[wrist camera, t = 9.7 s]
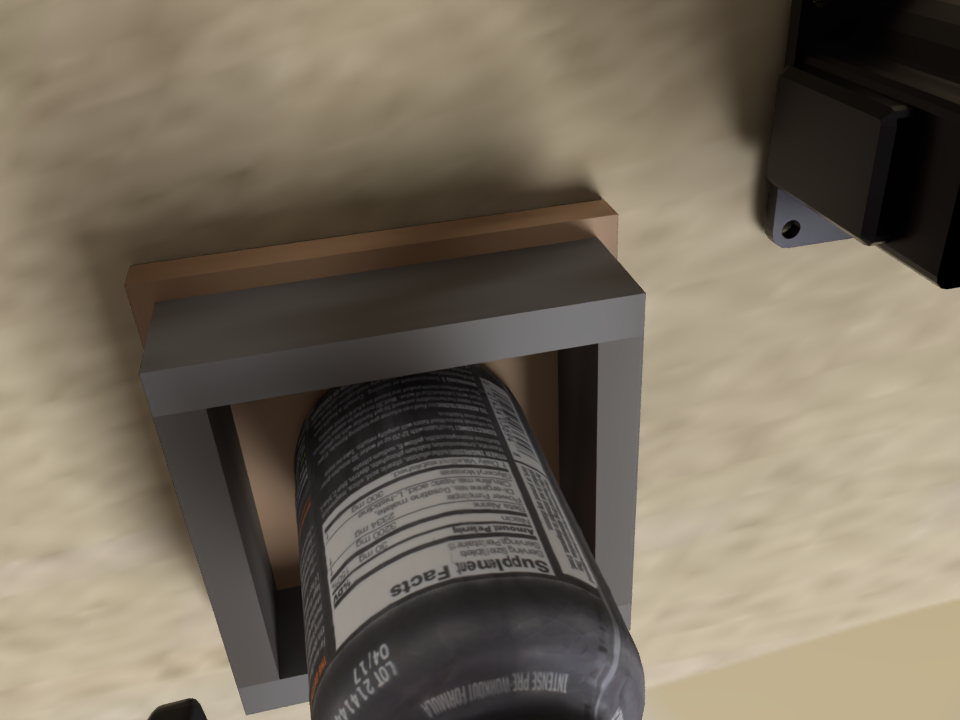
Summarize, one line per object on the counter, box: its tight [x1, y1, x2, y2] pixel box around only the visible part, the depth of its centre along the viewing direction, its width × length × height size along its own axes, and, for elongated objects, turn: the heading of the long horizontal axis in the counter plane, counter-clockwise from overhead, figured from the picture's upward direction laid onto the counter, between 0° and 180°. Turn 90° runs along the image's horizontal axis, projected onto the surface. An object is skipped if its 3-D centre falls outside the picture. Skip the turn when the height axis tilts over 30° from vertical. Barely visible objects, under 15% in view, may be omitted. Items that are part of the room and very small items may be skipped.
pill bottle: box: [294, 364, 645, 720], centre depth 17 cm, size 6×6×11 cm
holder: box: [125, 199, 646, 715], centre depth 21 cm, size 11×11×4 cm
